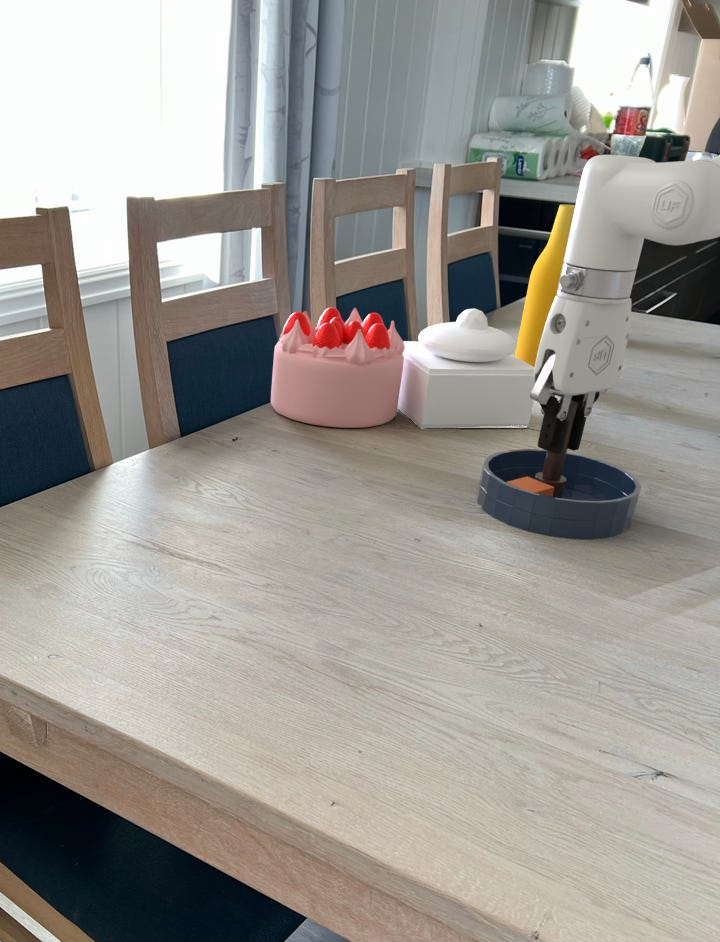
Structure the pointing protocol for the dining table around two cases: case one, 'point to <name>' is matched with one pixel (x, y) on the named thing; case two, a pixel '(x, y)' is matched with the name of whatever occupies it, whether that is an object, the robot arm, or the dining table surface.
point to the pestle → (558, 459)
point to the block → (533, 486)
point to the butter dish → (465, 376)
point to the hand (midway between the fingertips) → (557, 447)
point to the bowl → (575, 514)
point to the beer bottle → (543, 287)
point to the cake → (337, 370)
